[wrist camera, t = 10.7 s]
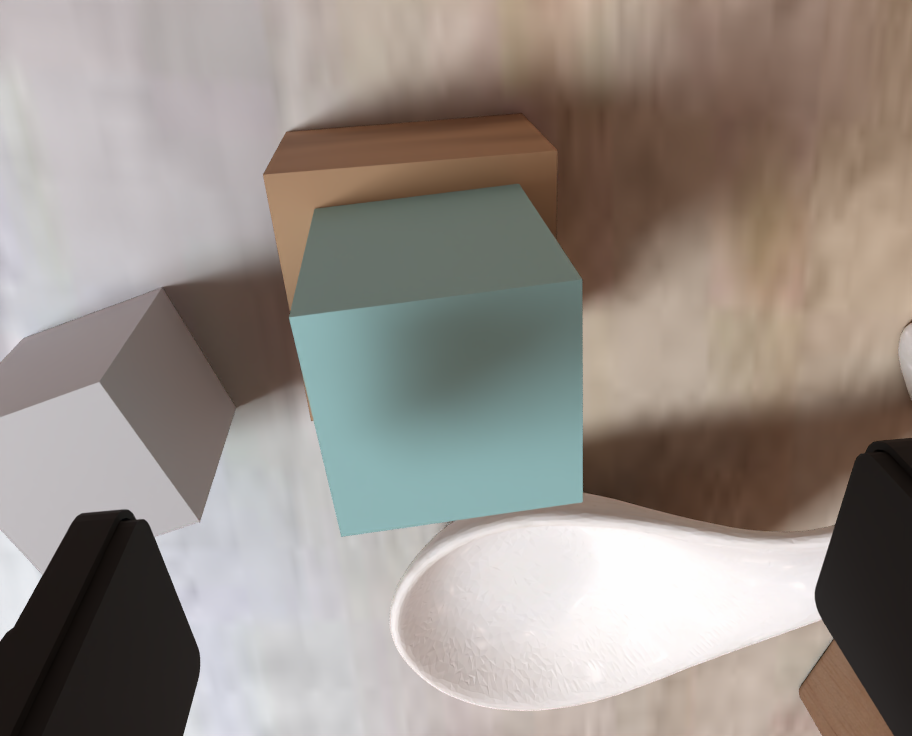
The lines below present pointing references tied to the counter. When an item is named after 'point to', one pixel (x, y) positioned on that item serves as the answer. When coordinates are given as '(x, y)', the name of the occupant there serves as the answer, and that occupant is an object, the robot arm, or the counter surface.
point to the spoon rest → (597, 598)
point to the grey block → (108, 424)
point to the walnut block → (401, 171)
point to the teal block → (441, 358)
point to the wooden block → (840, 699)
